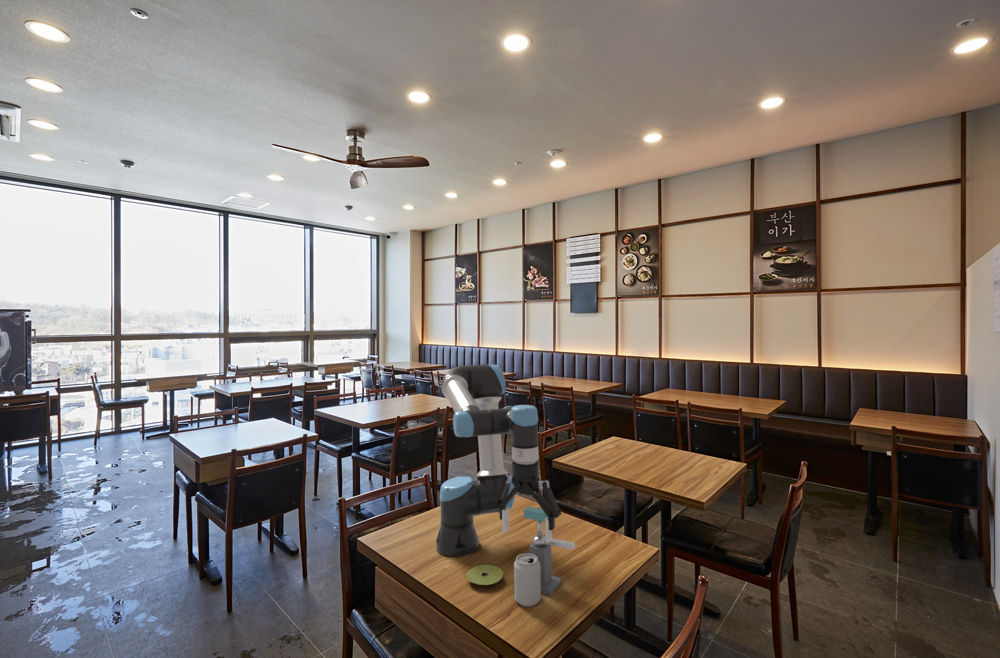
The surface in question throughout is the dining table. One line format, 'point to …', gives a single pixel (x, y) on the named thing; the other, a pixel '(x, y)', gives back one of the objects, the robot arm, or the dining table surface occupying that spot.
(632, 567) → the dining table surface
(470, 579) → the mat
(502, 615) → the dining table surface
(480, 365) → the robot arm
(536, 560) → the can
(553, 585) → the grey pedestal post
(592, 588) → the dining table surface
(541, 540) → the teal grip latch lever
